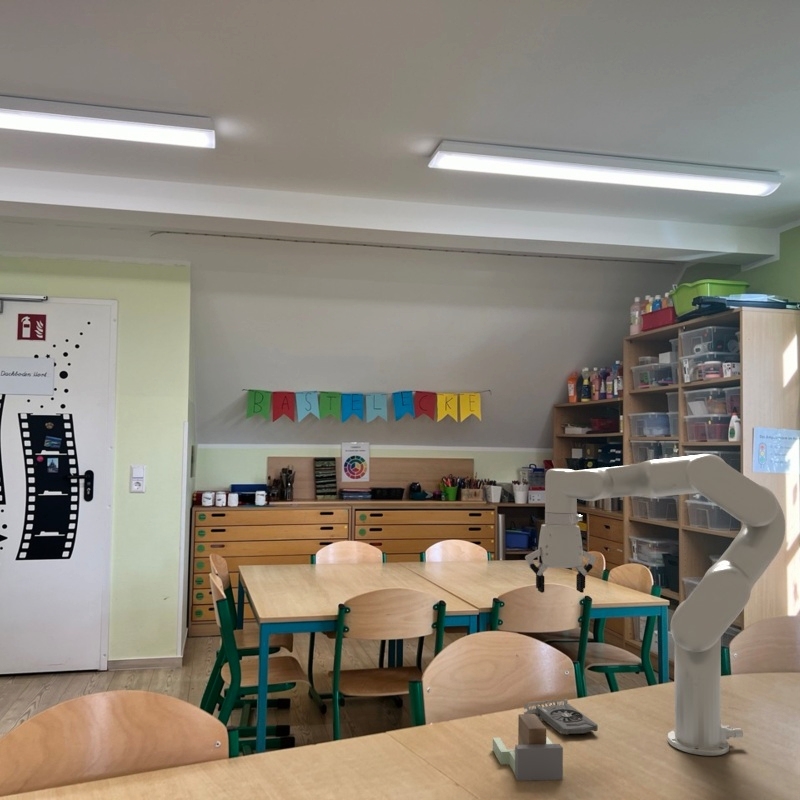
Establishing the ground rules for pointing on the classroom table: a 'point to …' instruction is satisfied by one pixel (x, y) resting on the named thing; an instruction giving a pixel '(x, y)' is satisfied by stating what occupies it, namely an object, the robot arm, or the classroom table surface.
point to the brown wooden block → (530, 730)
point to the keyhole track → (532, 760)
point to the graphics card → (562, 717)
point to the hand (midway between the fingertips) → (560, 591)
